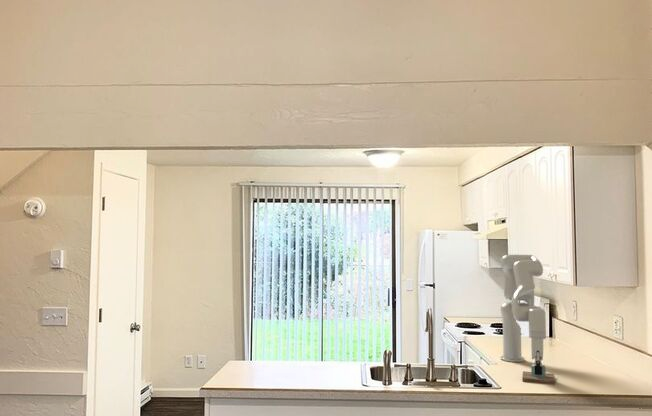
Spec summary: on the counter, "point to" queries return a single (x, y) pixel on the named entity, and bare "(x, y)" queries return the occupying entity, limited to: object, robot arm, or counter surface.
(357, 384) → the counter surface
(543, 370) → the cap
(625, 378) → the counter surface
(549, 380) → the brown flat square piece
